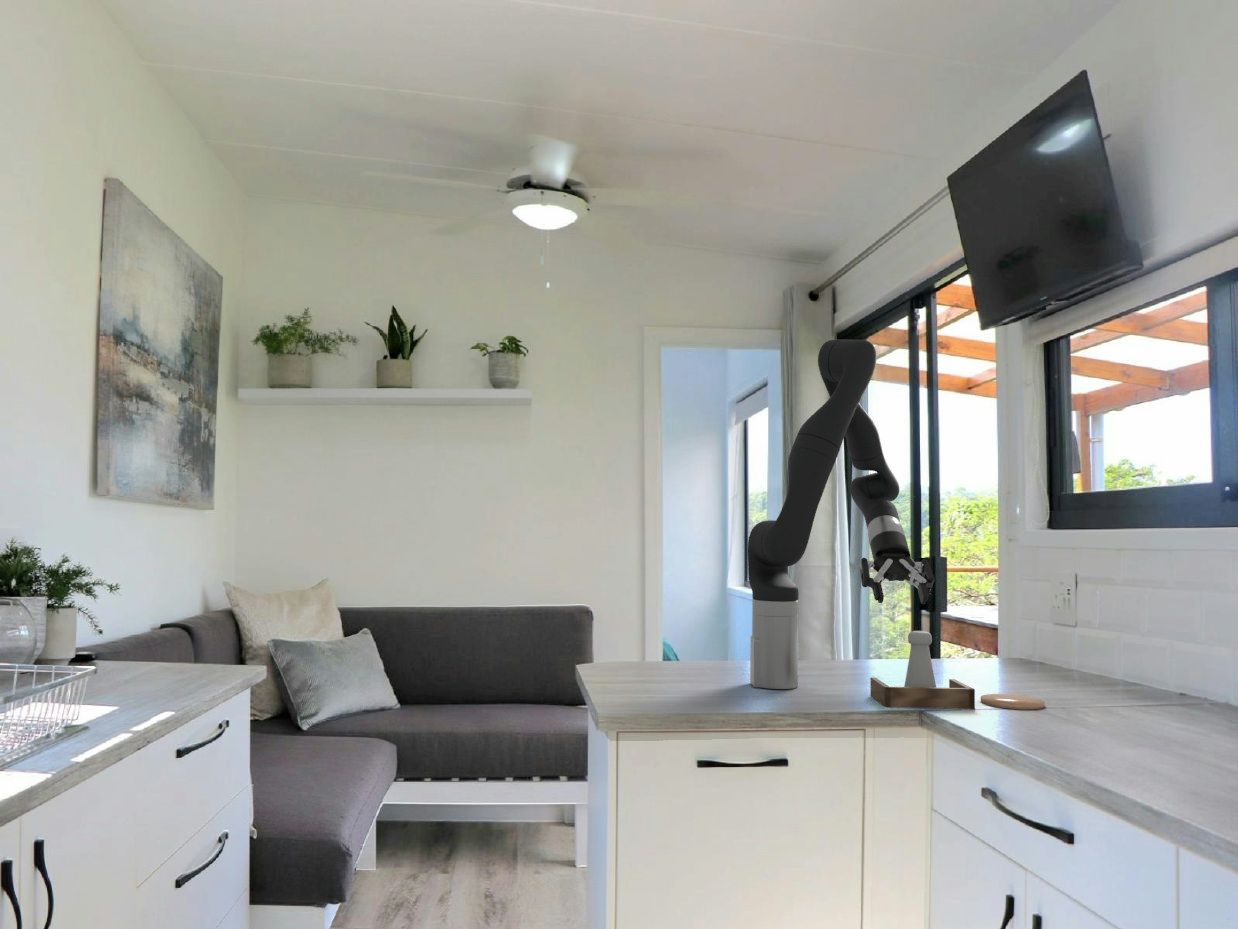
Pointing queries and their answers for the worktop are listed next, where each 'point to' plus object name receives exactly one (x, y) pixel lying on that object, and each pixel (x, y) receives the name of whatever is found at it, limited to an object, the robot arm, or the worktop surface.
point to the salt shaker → (920, 661)
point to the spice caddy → (924, 695)
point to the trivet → (1012, 701)
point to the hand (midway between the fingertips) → (903, 600)
